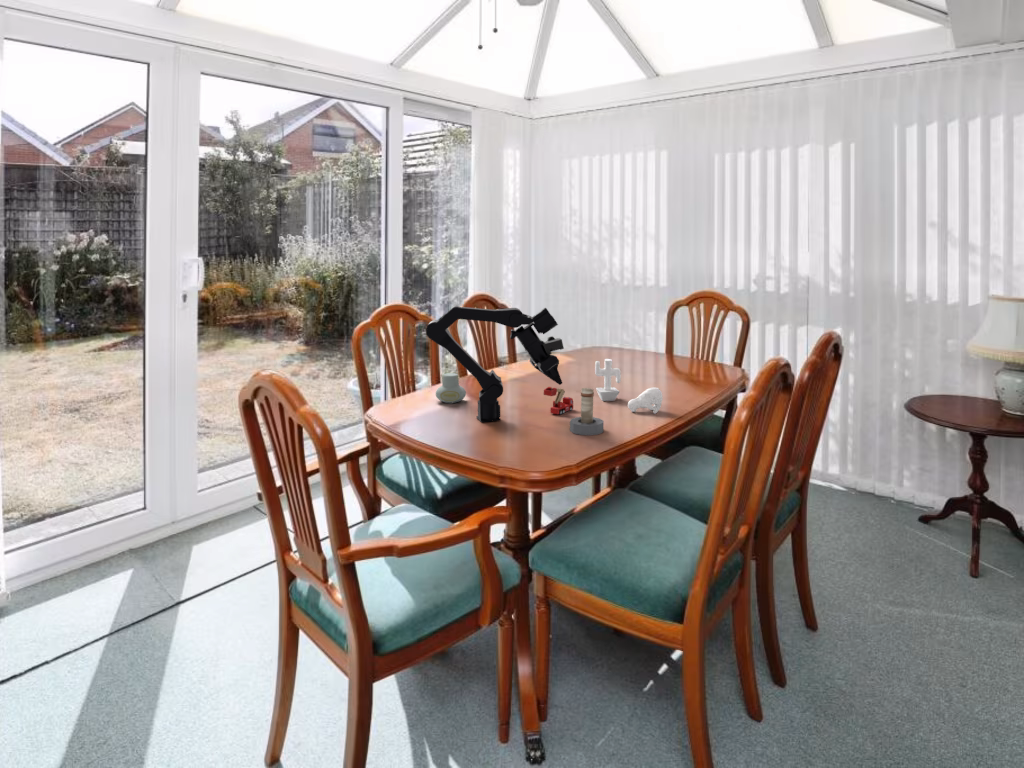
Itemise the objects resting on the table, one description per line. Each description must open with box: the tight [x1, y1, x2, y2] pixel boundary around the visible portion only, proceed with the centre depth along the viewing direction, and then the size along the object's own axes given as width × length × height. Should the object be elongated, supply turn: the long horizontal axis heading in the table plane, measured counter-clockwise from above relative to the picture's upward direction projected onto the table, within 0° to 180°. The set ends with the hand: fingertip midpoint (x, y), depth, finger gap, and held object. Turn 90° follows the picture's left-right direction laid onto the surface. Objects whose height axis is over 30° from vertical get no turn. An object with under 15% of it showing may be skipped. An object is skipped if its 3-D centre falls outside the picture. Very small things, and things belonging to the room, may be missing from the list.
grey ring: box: [569, 416, 604, 436], centre depth 197 cm, size 10×10×3 cm
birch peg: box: [580, 387, 595, 424], centre depth 196 cm, size 4×4×13 cm
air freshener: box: [435, 372, 467, 404], centre depth 233 cm, size 11×8×10 cm
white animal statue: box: [627, 386, 663, 414], centre depth 218 cm, size 6×8×12 cm
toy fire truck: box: [543, 386, 574, 415], centre depth 217 cm, size 3×14×10 cm, turn 141°
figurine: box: [594, 358, 622, 402], centre depth 235 cm, size 7×9×15 cm
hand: (557, 381), depth 209 cm, fingers open, 9 cm apart
